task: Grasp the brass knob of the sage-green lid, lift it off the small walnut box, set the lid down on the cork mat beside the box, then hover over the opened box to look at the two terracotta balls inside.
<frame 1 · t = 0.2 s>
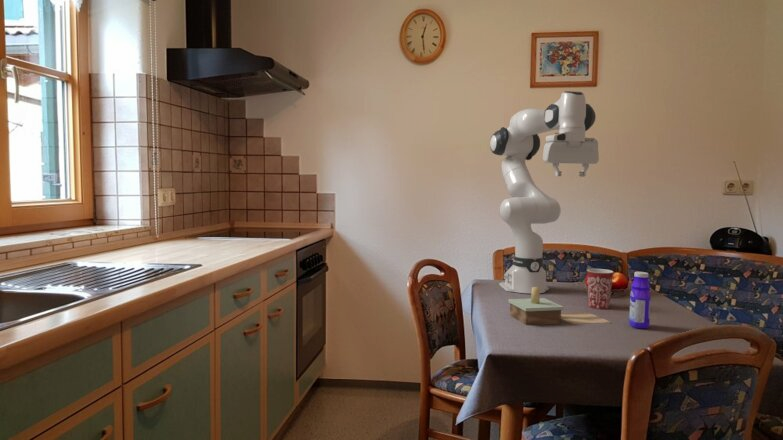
hand: (570, 176, 198), 48 cm above the table, fingers open, 8 cm apart
mat: (580, 319, 185), on the table
ball b: (543, 320, 180), point 1 cm above the table, touching box
bottle: (638, 327, 177), on the table
lid: (535, 305, 182), point 5 cm above the table, touching box
ball a: (525, 317, 184), point 1 cm above the table, touching box
mug: (599, 306, 205), on the table
box: (534, 320, 182), on the table
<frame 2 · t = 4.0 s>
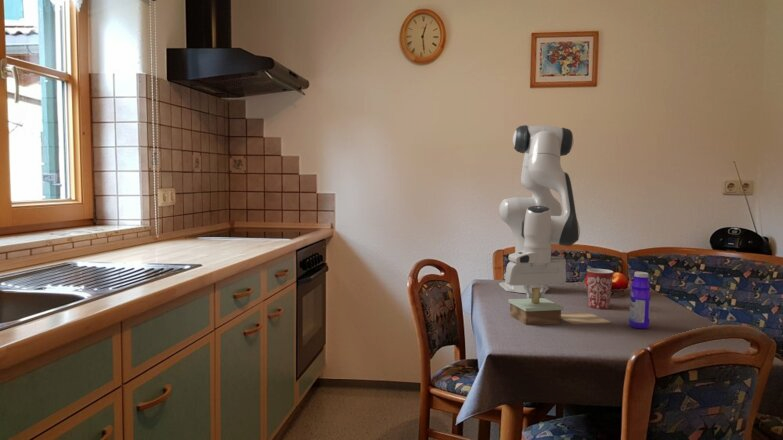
hand: (535, 298, 182), 8 cm above the table, fingers closed on lid, 3 cm apart
lid: (535, 305, 182), point 5 cm above the table, touching box, gripper
everything else where it was.
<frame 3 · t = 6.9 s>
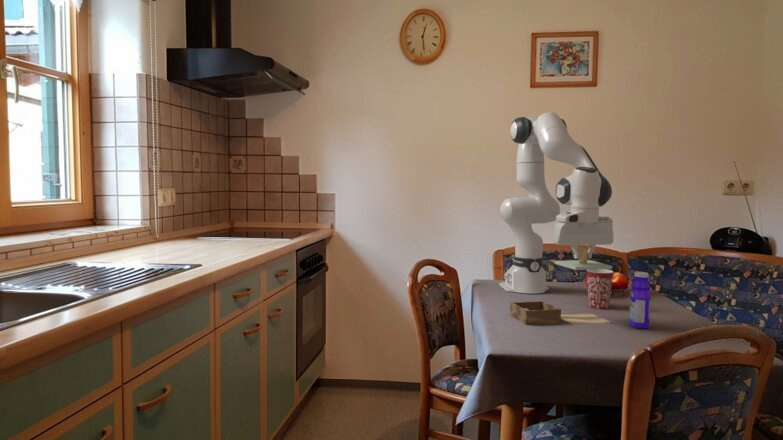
hand: (582, 258, 183), 21 cm above the table, fingers closed on lid, 3 cm apart
lid: (582, 266, 183), point 18 cm above the table, touching gripper
everything else where it was.
when the fingers open (5 cm above the table, at t = 9.8 s): lid drops 1 cm, resting on mat.
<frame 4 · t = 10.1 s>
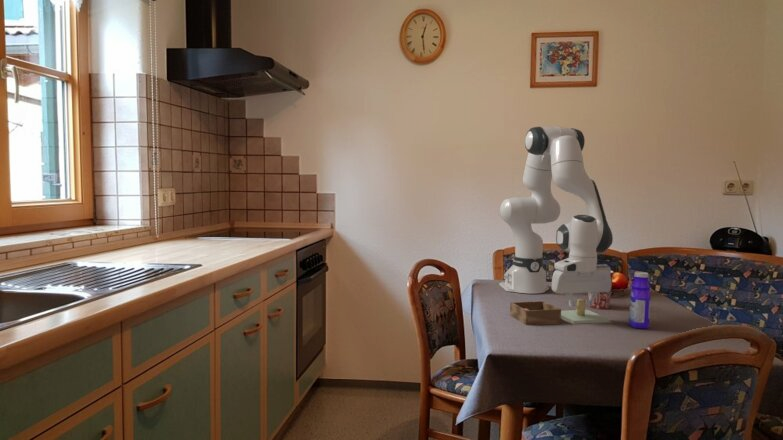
hand: (580, 305, 185), 5 cm above the table, fingers open, 5 cm apart
lid: (580, 317, 185), point 1 cm above the table, touching mat
everything else where it was.
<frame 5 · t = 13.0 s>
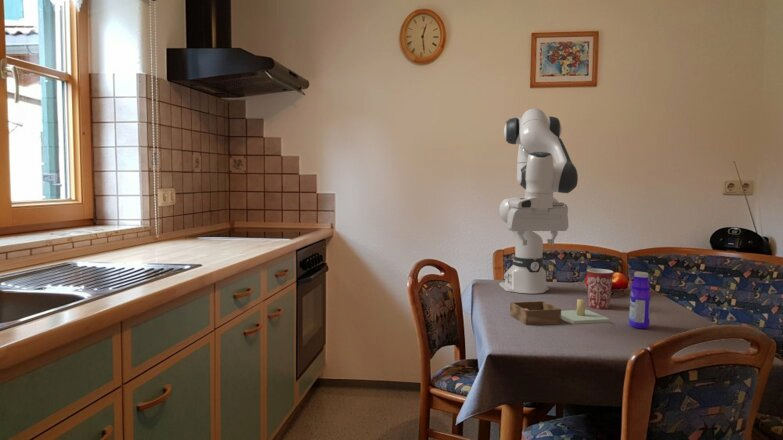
hand: (537, 244, 180), 25 cm above the table, fingers open, 8 cm apart
nothing on the table moved.
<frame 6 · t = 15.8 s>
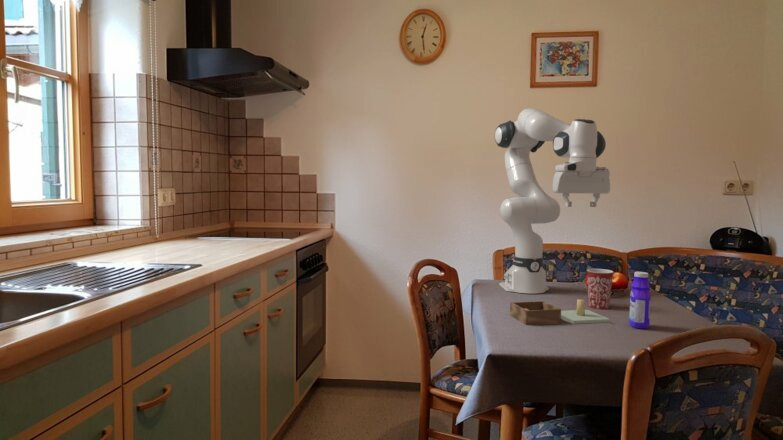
hand: (580, 206, 192), 37 cm above the table, fingers open, 8 cm apart
nothing on the table moved.
at the end: lid inside the target area on the mat (0.0 cm from its centre), point 0.6 cm above the mat's base; lid tilted 0°; lid touching mat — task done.
